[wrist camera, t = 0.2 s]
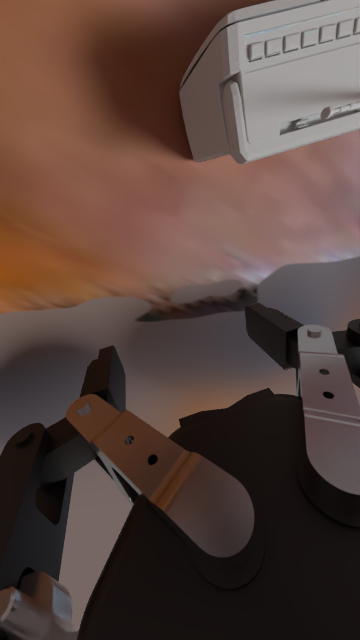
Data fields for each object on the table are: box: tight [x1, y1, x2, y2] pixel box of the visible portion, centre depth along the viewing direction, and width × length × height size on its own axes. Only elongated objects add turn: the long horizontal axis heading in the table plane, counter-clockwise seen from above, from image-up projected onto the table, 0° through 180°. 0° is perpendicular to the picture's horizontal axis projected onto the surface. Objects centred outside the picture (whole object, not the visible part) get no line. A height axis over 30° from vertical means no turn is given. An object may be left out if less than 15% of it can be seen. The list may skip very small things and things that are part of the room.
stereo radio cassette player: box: [179, 0, 360, 164], centre depth 18 cm, size 21×8×20 cm, turn 104°
